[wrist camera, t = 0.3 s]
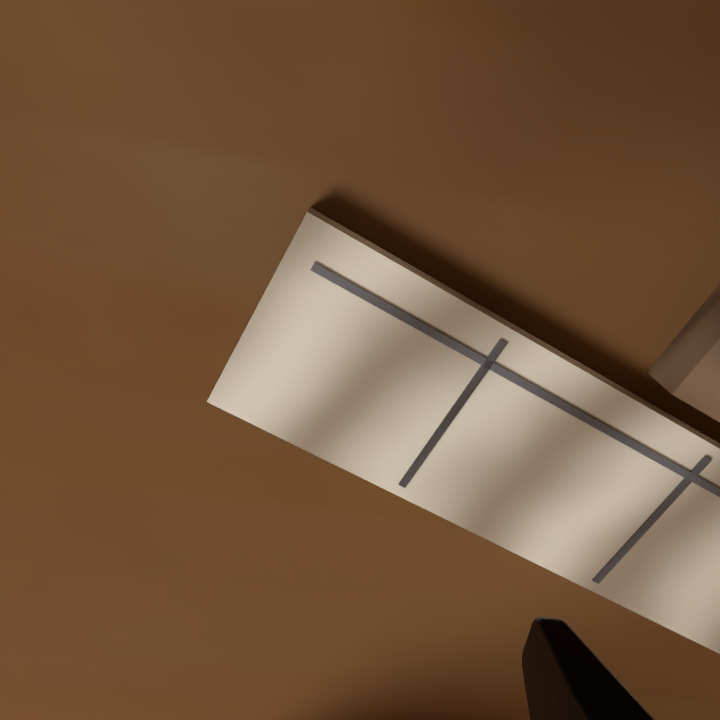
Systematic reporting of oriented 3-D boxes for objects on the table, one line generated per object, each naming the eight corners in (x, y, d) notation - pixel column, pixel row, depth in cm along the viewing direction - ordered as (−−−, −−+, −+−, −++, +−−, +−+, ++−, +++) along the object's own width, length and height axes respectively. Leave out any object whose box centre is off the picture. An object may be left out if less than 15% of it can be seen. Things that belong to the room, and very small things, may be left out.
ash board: (846, 516, 25) (870, 536, 24) (717, 638, 28) (733, 661, 27) (310, 207, 21) (306, 212, 20) (214, 388, 23) (206, 403, 22)
